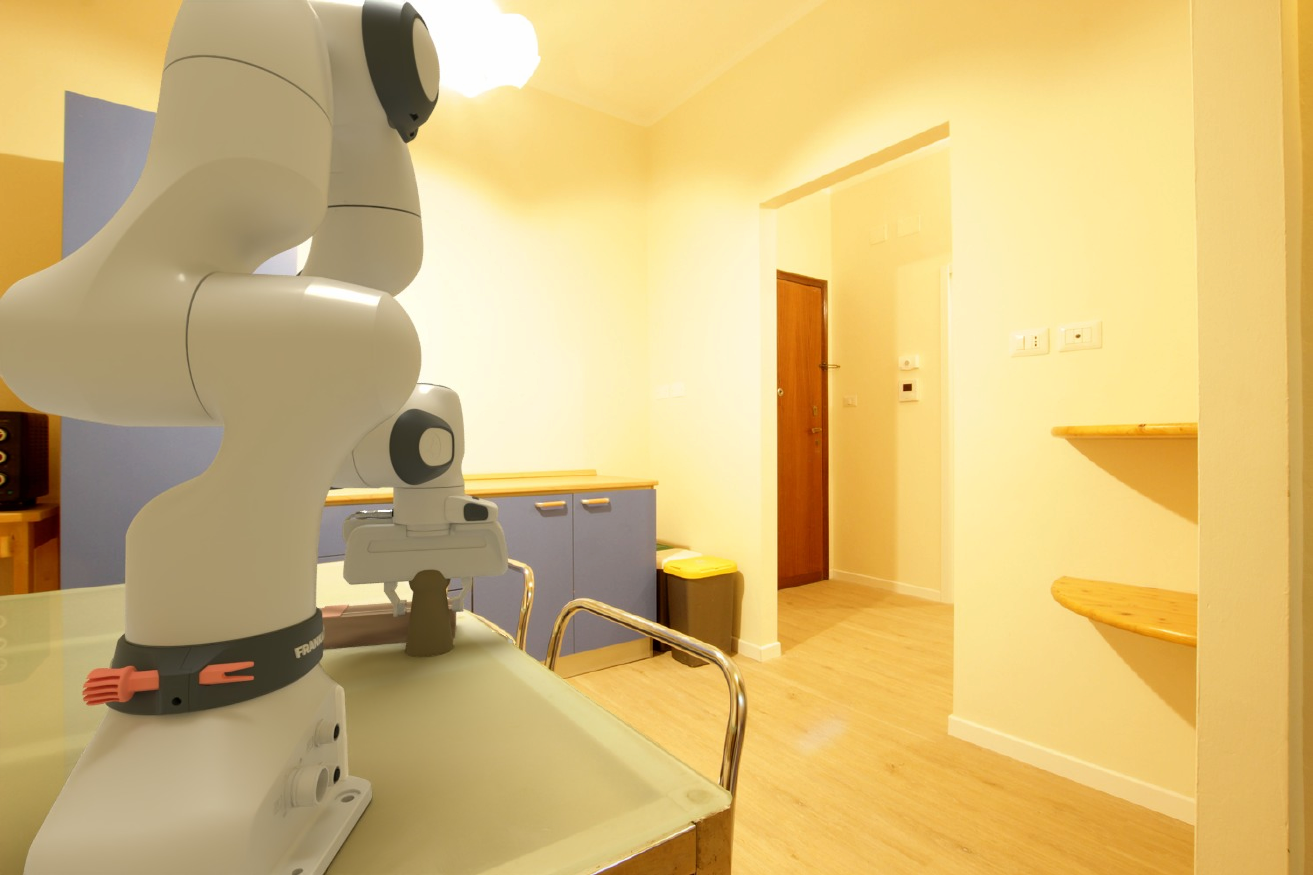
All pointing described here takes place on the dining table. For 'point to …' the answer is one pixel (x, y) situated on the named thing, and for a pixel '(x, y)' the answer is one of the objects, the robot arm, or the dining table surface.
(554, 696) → the dining table surface
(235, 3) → the robot arm
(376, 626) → the walnut plank
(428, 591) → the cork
